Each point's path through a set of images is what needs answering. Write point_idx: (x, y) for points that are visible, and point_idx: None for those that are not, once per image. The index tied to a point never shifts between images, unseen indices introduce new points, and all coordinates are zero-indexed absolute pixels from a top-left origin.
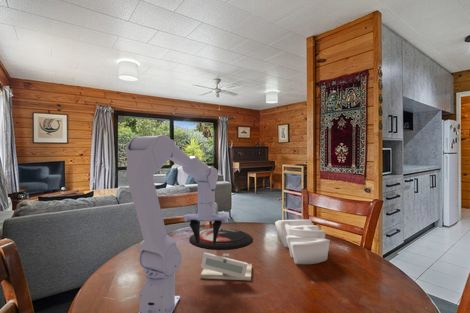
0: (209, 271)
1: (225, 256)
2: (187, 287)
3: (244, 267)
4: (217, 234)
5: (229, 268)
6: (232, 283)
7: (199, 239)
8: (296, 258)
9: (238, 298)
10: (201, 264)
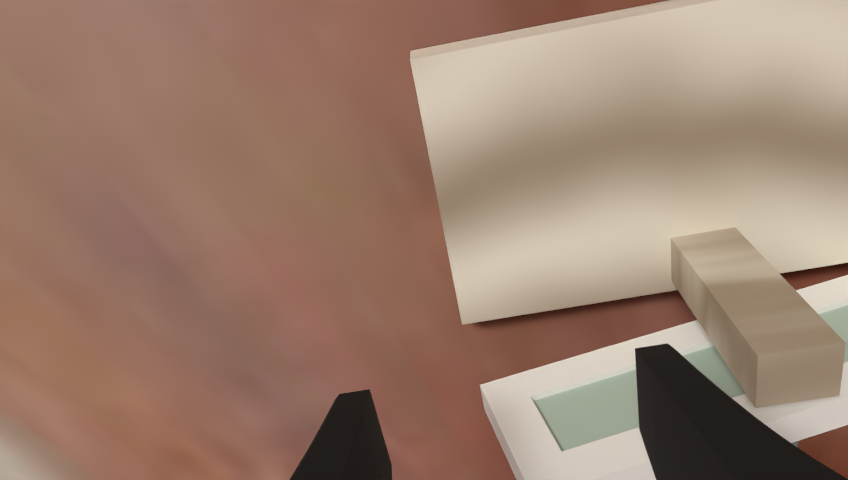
0: (525, 257)
1: (789, 397)
2: (416, 432)
3: None
4: (753, 416)
5: None
6: None
7: (368, 425)
8: None
9: (810, 453)
10: (495, 431)
